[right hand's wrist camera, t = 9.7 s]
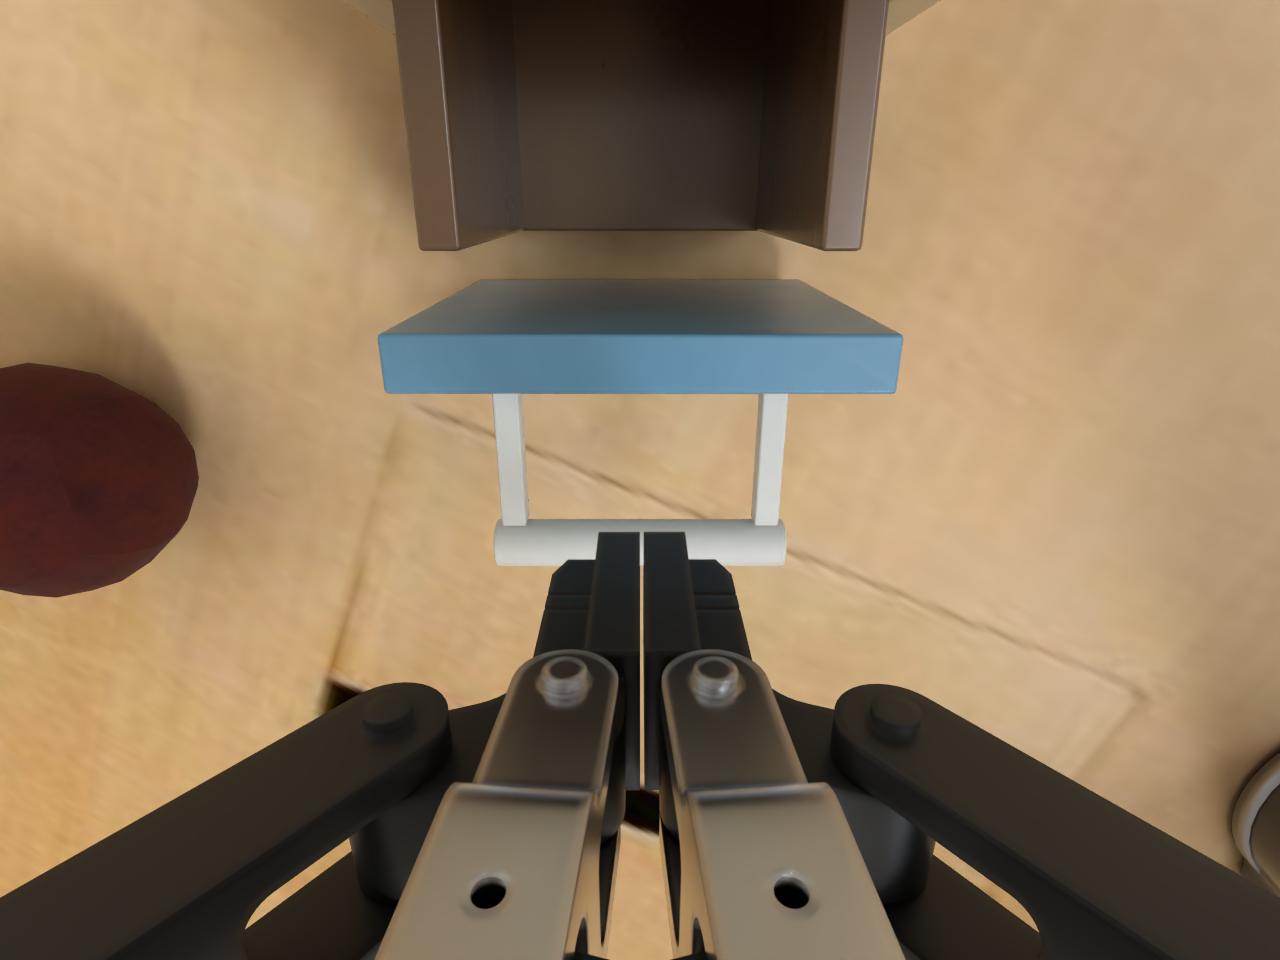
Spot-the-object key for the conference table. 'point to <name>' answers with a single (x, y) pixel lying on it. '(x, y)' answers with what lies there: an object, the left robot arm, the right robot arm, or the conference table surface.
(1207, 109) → the conference table surface
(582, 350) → the drawer
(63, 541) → the potato
